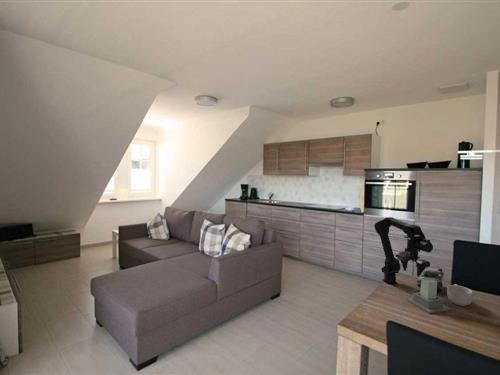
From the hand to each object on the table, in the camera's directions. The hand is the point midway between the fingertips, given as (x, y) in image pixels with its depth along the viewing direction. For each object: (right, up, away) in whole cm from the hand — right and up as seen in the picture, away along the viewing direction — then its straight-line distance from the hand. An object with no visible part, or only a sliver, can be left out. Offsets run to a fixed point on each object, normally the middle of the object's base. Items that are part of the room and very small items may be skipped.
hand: (411, 273), depth 153 cm
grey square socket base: (+1, -13, -12) cm, 18 cm away
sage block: (+1, -12, -12) cm, 17 cm away
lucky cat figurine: (+17, -12, +10) cm, 23 cm away
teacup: (+21, -13, -8) cm, 26 cm away
